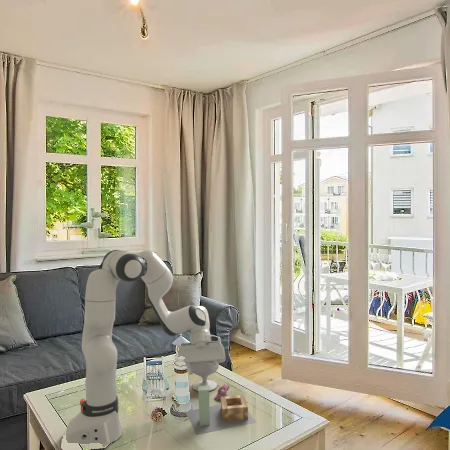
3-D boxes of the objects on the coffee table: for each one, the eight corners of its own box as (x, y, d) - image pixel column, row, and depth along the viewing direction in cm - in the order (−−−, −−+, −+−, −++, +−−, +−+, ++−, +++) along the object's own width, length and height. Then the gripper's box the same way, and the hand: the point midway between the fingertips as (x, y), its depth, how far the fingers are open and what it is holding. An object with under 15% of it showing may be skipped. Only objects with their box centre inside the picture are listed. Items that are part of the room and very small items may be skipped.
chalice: (219, 393, 187) (218, 361, 186) (188, 394, 187) (187, 362, 187) (219, 379, 201) (218, 350, 200) (191, 380, 201) (190, 350, 201)
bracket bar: (199, 425, 158) (198, 390, 157) (199, 420, 162) (198, 385, 161) (210, 424, 158) (208, 389, 158) (209, 419, 162) (208, 385, 161)
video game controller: (221, 407, 178) (228, 393, 177) (212, 401, 179) (219, 388, 178) (226, 396, 188) (232, 383, 187) (217, 391, 188) (223, 378, 187)
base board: (196, 438, 152) (196, 434, 152) (186, 414, 169) (186, 411, 169) (256, 425, 159) (256, 421, 159) (240, 404, 177) (240, 400, 176)
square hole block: (223, 421, 161) (222, 408, 160) (221, 408, 171) (220, 396, 170) (248, 419, 162) (247, 407, 161) (244, 406, 172) (244, 395, 171)
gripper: (176, 340, 175) (176, 372, 165) (223, 337, 176) (226, 368, 167) (177, 346, 179) (177, 378, 170) (223, 343, 181) (226, 374, 172)
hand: (202, 373), depth 169 cm, fingers open, 8 cm apart
